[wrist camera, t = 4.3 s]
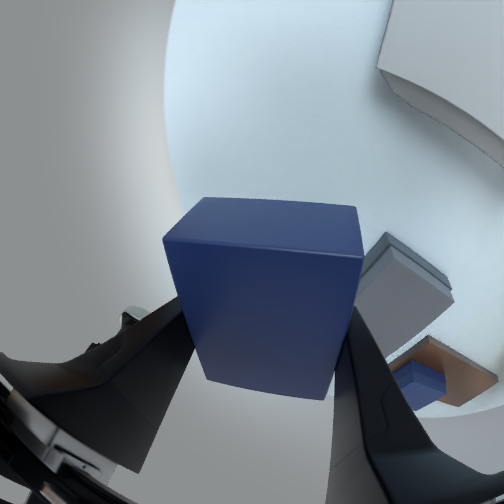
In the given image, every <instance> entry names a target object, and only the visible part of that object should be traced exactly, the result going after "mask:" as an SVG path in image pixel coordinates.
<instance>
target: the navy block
mask: <svg viewBox="0 0 504 504" xmlns="http://www.w3.org/2000/svg"><path fill="white" fill-rule="evenodd" d="M162 240H163V245H164V249H165V252H166V256H167V260H168V264H169V267H170V270H171V274H172V278H173V281H174V285H175V288H176V291H177V295H178V298H179V301H180V304H181V307H182V311H183V314H184V317H185V320H186V323H187V326H188V329H189V332H190V335H191V338H192V340H193V343H194V346H195V349H196V352H197V354H198V357H199V360H200V362H201V365H202V368H203V371H204V373H205V376H206V378H207V380H210V381H214V382H219V383H222V384H227V385H231V386H235V387H240V388H245V389H250V390H255V391H260V392H266V393H272V394H277V395H284V396H291V397H298V398H305V399H314V400H324V399H325V397H326V394H327V391H328V388H329V386H330V383H331V380H332V377H333V374H334V371H335V368H336V365H337V362H338V359H339V356H340V352H341V349H342V346H343V343H344V339H345V336H346V333H347V329H348V326H349V322H350V318H351V315H352V311H353V307H354V303H355V299H356V295H357V291H358V286H359V282H360V278H361V273H362V268H363V263H364V259H365V257H364V250H363V243H362V237H361V231H360V225H359V219H358V214H357V209H356V207H355V206H346V205H336V204H324V203H312V202H298V201H283V200H266V199H245V198H215V197H204V198H202V199H201V200H200V201H199V202H198V203H197V204H196V205H195V206H194V207H193V208H192V209H191V210H190V211H189V212H188V213H187V214H186V215H185V216H184V217H183V218H182V219H181V220H180V221H179V222H178V223H177V224H176V225H175V226H174V227H173V228H172V229H171V230H170V231H169V232H168V233H167V234H166V235H165V236H164V237H163V239H162Z"/></svg>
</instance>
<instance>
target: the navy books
mask: <svg viewBox="0 0 504 504" xmlns="http://www.w3.org/2000/svg"><path fill="white" fill-rule="evenodd" d="M392 373H393V375H394V377H395V379H394V380H396V381H397V383H398V385H399V387H400V389H401V391H402V393H403V395H404V397H405V399H406V401H407V402H408V404H409V406H410V407H411V409H412V410H414V411H417V410H419V409H421V408H423V407H425V406H426V405H428V404H430V403H432V402H434V401H436V400H437V399H439V398H441V397H443V396H444V395H446V394H447V391H446V379H445V375H444V374H442V373H440V372H437V371H435V370H433V369H431V368H429V367H427V366H424V365H422V364H420V363H418V362H416V361H414V360H410V361H409V362H407V363H406V364H404V365H403V366H401V367H400V368H398V369H397V370H395V371H393V372H392Z"/></svg>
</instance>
